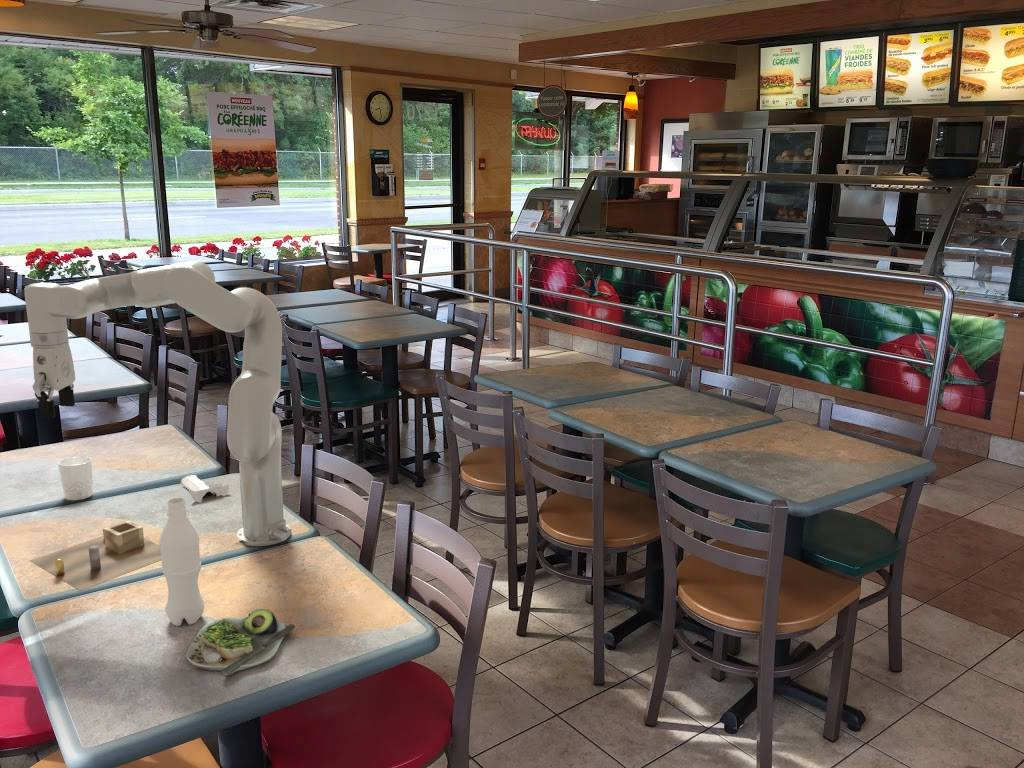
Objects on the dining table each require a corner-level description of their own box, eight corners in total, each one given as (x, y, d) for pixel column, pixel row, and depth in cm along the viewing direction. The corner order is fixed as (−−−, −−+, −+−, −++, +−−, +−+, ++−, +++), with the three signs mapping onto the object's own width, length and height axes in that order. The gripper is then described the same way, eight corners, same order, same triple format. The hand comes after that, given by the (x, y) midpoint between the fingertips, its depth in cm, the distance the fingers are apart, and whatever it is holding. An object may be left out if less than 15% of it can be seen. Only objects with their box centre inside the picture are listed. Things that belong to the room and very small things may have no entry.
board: (177, 558, 190) (175, 533, 189) (80, 595, 173) (77, 568, 171) (125, 533, 203) (122, 509, 201) (30, 565, 185) (26, 539, 184)
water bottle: (164, 631, 161) (153, 509, 154) (168, 612, 167) (158, 495, 161) (203, 626, 162) (194, 506, 156) (206, 608, 169) (197, 492, 163)
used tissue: (191, 506, 221) (189, 492, 220) (180, 484, 236) (179, 471, 235) (232, 499, 226) (231, 485, 225) (219, 478, 241) (218, 465, 240)
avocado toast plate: (271, 684, 145) (270, 661, 144) (169, 682, 145) (166, 658, 144) (300, 625, 164) (298, 604, 163) (209, 624, 164) (207, 602, 163)
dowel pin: (66, 574, 179) (64, 559, 179) (58, 576, 178) (56, 561, 177) (62, 572, 180) (60, 557, 179) (54, 574, 179) (53, 559, 178)
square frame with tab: (144, 544, 194) (142, 526, 193) (119, 553, 189) (117, 535, 188) (120, 533, 200) (118, 515, 199) (95, 541, 195) (93, 523, 194)
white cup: (65, 491, 227) (61, 457, 225) (97, 489, 230) (93, 454, 227) (59, 502, 220) (55, 466, 218) (92, 499, 222) (88, 464, 220)
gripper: (48, 346, 180) (57, 422, 184) (83, 331, 197) (90, 401, 201) (12, 346, 179) (22, 422, 184) (50, 331, 196) (58, 401, 200)
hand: (57, 411), depth 192 cm, fingers open, 9 cm apart
